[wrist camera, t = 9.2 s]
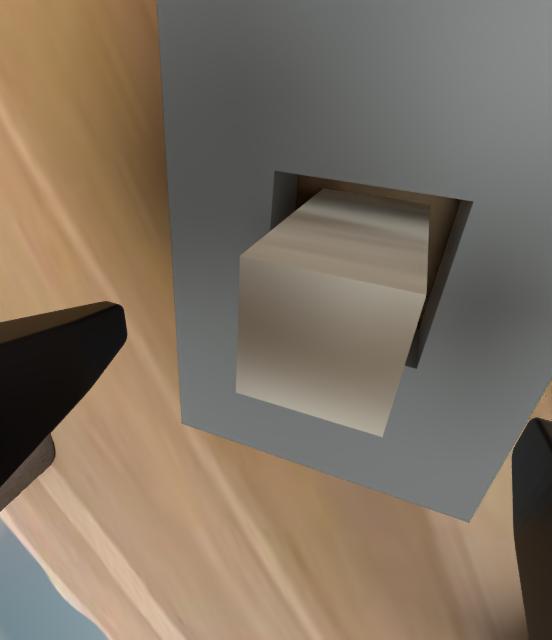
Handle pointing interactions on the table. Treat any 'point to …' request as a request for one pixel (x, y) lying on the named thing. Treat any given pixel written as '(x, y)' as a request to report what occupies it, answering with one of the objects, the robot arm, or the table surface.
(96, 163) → the table surface
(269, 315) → the cream peg
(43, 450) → the pillar candle
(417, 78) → the socket block
